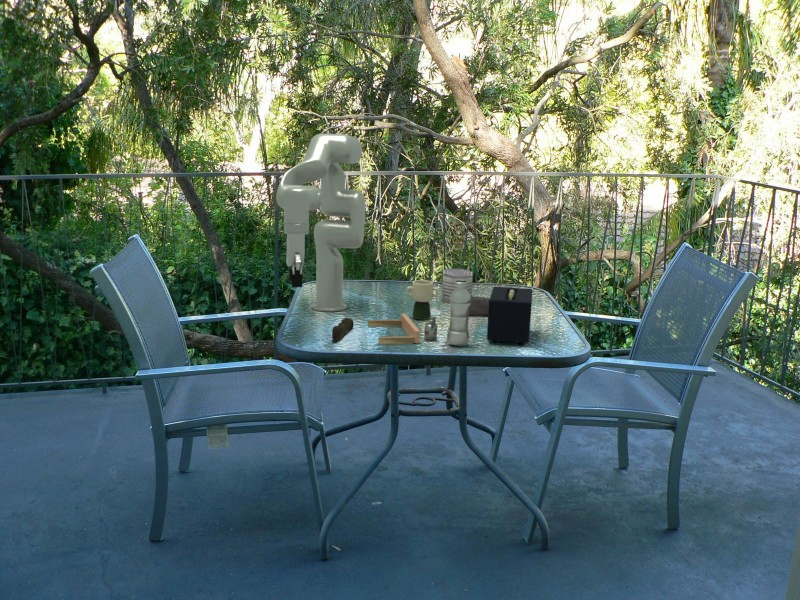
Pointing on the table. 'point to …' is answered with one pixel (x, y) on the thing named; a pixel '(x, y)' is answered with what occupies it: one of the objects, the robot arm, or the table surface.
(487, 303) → the perforated stone tool
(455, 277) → the can
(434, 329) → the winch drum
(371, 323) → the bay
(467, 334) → the plastic bottle
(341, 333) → the dark brown log
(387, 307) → the table surface
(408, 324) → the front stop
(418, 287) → the character mug
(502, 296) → the speaker
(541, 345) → the table surface
